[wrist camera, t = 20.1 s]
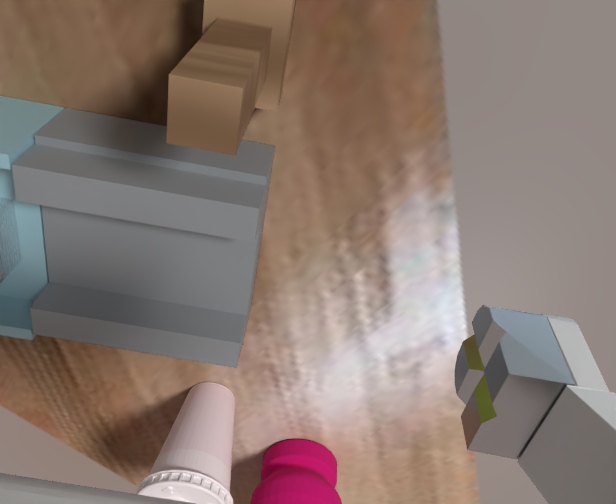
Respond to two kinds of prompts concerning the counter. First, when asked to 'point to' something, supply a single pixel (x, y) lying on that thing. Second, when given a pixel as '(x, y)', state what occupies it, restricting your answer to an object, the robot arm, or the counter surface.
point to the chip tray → (22, 216)
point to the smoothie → (196, 450)
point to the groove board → (145, 236)
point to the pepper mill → (297, 474)
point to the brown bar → (229, 73)
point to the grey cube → (8, 238)
